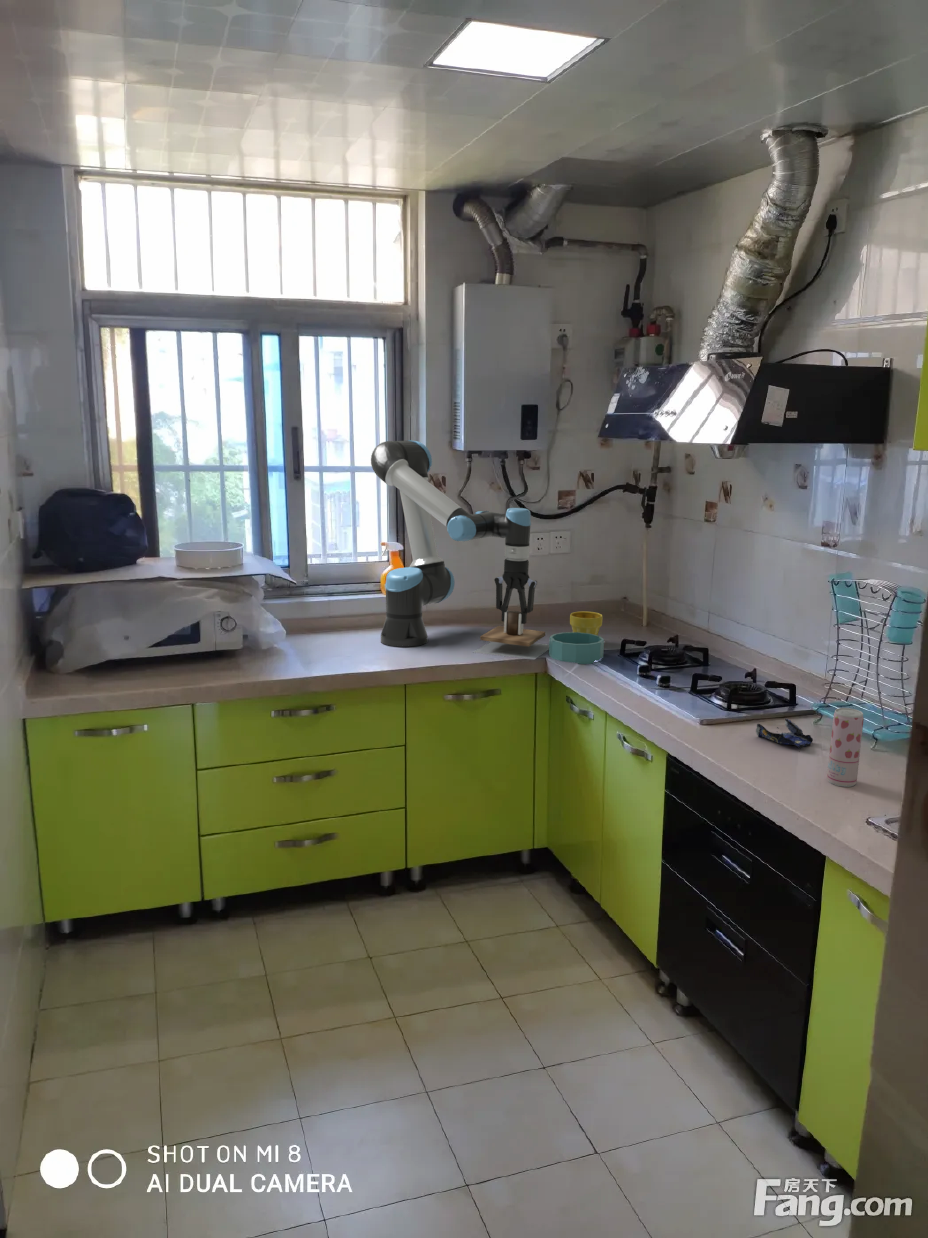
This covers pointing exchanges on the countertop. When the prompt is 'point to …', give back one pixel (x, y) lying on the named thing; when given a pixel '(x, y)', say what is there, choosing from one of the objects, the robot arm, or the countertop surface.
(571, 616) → the plant pot
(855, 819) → the countertop surface
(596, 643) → the bowl
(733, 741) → the countertop surface
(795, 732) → the snack package
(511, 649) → the mat
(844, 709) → the beverage can
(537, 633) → the lid
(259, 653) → the countertop surface
